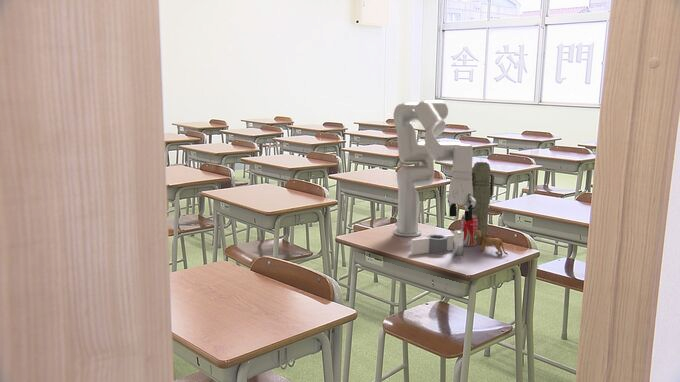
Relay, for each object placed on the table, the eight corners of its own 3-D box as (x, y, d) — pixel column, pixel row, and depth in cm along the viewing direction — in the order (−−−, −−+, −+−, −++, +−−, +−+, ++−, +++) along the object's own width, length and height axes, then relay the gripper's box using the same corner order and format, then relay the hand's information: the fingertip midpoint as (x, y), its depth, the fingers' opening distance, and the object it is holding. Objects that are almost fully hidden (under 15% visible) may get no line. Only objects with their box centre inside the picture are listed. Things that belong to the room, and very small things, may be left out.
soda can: (475, 243, 248) (477, 214, 246) (477, 247, 241) (479, 217, 239) (458, 242, 249) (460, 213, 247) (460, 246, 242) (462, 217, 240)
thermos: (494, 242, 249) (499, 163, 243) (471, 244, 246) (475, 164, 240) (483, 238, 258) (488, 161, 252) (460, 239, 254) (464, 161, 248)
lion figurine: (470, 251, 235) (471, 230, 233) (474, 249, 239) (475, 228, 238) (506, 257, 227) (507, 235, 226) (509, 254, 232) (510, 232, 230)
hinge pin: (450, 254, 229) (451, 230, 228) (458, 253, 231) (459, 229, 229) (456, 257, 226) (457, 233, 224) (464, 256, 228) (466, 232, 226)
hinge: (406, 251, 233) (406, 237, 232) (454, 245, 244) (454, 232, 242) (417, 256, 226) (417, 242, 225) (465, 250, 236) (466, 236, 235)
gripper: (440, 173, 229) (439, 215, 232) (468, 178, 214) (466, 223, 216) (456, 172, 232) (454, 213, 235) (484, 177, 217) (482, 221, 219)
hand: (460, 218), depth 225 cm, fingers open, 9 cm apart
